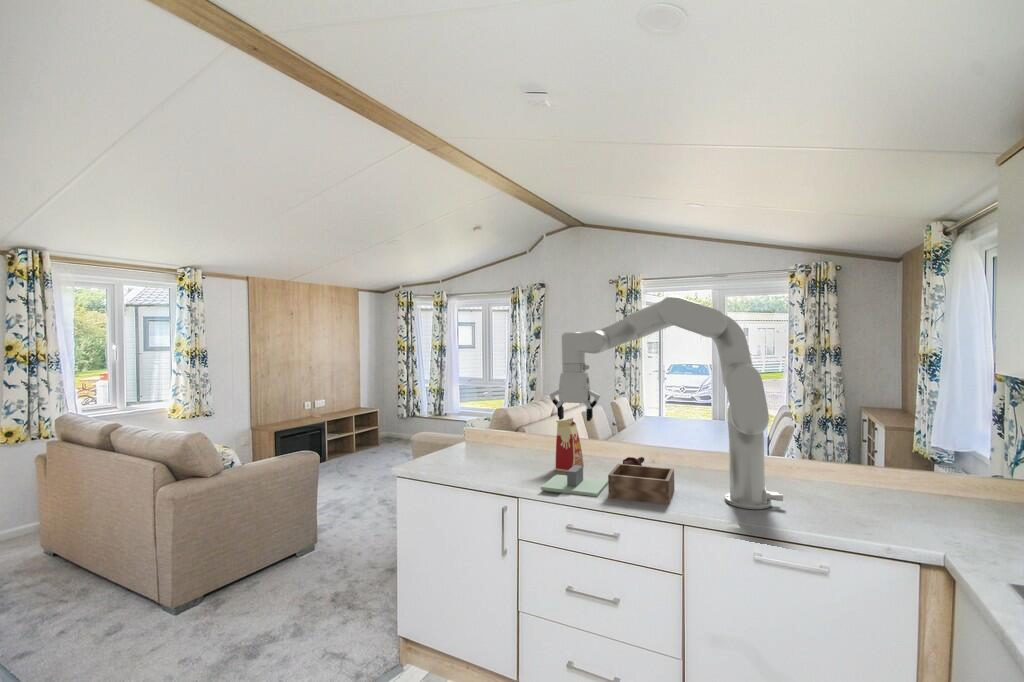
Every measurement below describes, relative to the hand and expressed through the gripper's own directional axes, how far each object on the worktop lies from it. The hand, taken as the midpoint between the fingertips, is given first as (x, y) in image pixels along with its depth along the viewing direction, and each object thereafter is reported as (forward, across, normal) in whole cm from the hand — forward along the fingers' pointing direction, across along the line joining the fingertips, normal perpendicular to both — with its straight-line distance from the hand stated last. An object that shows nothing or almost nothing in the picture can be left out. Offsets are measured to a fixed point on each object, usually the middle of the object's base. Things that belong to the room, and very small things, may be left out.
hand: (575, 419), depth 160 cm
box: (+23, -22, 0) cm, 32 cm away
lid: (+23, 0, 0) cm, 23 cm away
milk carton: (+24, +10, -23) cm, 34 cm away
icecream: (+24, -14, -22) cm, 35 cm away
